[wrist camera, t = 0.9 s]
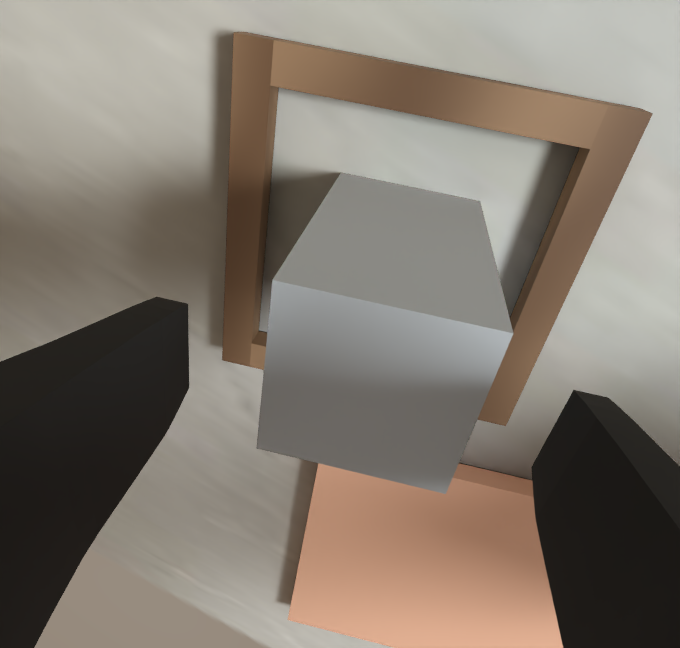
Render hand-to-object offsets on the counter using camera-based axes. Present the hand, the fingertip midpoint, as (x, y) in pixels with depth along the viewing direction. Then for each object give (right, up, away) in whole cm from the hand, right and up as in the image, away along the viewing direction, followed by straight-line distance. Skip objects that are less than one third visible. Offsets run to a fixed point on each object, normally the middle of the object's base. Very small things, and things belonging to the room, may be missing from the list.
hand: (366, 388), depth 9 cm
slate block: (+1, +3, +6) cm, 7 cm away
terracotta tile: (+5, -10, +13) cm, 17 cm away
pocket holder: (+1, +3, +6) cm, 7 cm away
